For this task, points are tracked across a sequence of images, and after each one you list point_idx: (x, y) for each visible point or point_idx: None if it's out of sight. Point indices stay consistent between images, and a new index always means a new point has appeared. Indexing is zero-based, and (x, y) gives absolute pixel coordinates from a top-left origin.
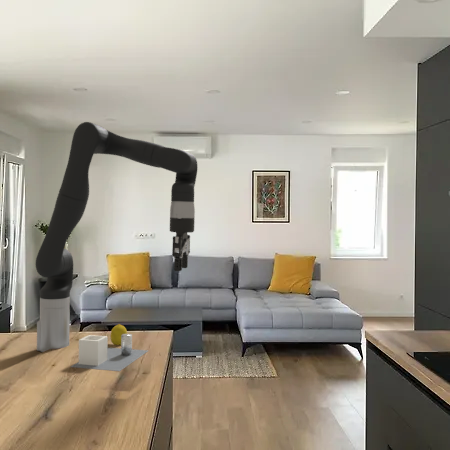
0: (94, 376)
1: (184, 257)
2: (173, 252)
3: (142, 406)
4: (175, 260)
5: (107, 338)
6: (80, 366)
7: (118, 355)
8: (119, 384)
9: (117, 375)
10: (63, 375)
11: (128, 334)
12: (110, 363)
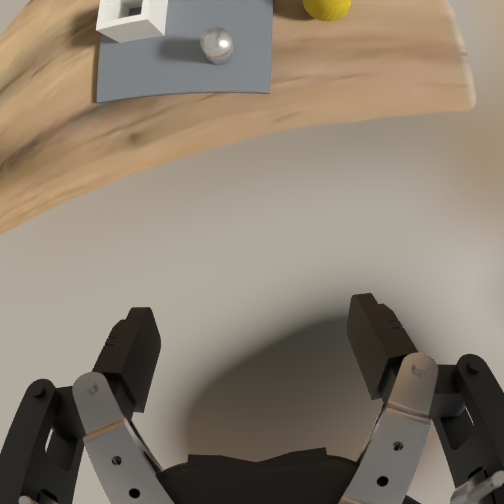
0: (93, 60)
1: (375, 376)
2: (25, 410)
3: (18, 208)
4: (94, 368)
5: (148, 21)
6: None
7: None
8: (67, 127)
9: None
10: (91, 11)
11: (223, 42)
12: (139, 56)
